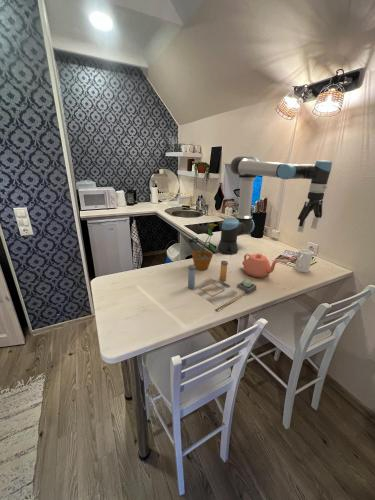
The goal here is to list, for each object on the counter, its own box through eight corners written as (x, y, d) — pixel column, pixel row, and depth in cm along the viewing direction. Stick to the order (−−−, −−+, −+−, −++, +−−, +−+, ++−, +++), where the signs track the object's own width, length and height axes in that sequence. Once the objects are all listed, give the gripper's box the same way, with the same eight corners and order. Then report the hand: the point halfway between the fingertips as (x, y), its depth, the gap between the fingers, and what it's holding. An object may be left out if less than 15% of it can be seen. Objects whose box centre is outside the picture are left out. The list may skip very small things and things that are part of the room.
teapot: (281, 275, 131) (285, 256, 126) (268, 285, 120) (272, 264, 116) (248, 263, 145) (250, 246, 140) (234, 271, 135) (237, 252, 130)
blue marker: (186, 287, 114) (187, 266, 110) (191, 284, 116) (192, 264, 112) (190, 290, 112) (191, 269, 107) (196, 287, 114) (197, 267, 109)
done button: (240, 285, 116) (241, 280, 115) (245, 283, 118) (246, 278, 117) (247, 289, 113) (248, 284, 112) (252, 286, 115) (253, 281, 114)
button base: (236, 288, 117) (237, 284, 116) (244, 284, 121) (245, 280, 120) (248, 294, 112) (248, 290, 111) (255, 289, 116) (256, 285, 115)
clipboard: (183, 288, 115) (183, 286, 114) (209, 276, 127) (209, 274, 127) (217, 311, 98) (217, 309, 98) (244, 295, 111) (244, 293, 110)
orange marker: (218, 281, 123) (219, 261, 118) (222, 279, 125) (224, 260, 120) (222, 283, 121) (224, 264, 116) (227, 281, 123) (229, 262, 118)
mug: (301, 274, 133) (306, 256, 128) (288, 269, 139) (292, 251, 134) (311, 270, 139) (316, 252, 134) (299, 264, 145) (303, 247, 141)
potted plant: (221, 268, 137) (226, 221, 125) (202, 279, 124) (206, 228, 112) (199, 259, 148) (202, 216, 136) (180, 269, 135) (181, 221, 123)
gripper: (310, 194, 108) (300, 235, 116) (335, 191, 121) (325, 228, 129) (296, 192, 114) (287, 231, 122) (321, 189, 126) (312, 225, 135)
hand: (306, 230), depth 125 cm, fingers open, 13 cm apart
